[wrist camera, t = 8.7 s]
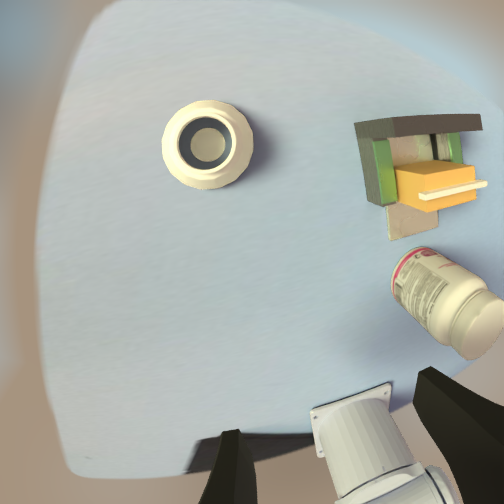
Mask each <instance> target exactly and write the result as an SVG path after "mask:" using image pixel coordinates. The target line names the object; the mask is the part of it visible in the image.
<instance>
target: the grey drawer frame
mask: <svg viewBox="0 0 504 504" xmlns="http://www.w3.org/2000/svg"><path fill="white" fill-rule="evenodd" d="M354 125H355V130H356V135H357V140H358V145H359V150H360V156H361V161H362V167H363V173H364V179H365V186H366V193H367V200H368V201H369V202H372V203H374V204H377V205H379V206H382V207H384V206H386V215H387V226H388V238H389V240H390V241H392V240H396V239H399V238H403V237H406V236H409V235H413V234H416V233H419V232H423V231H426V230H429V229H433V228H436V227H438V210H435V211H431V212H428V213H427V212H424V211H422V210H419V209H416V208H414V207H411V206H408V205H406V204H403V203H400V202H397V201H398V199H397V190H396V181H395V174H394V167H395V166H401V165H407V164H413V163H419V162H425V161H431V160H433V158H434V160H439V161H446V162H453V163H459V164H463V159H462V150H461V142H460V135H459V132H460V131H477V130H483V129H482V122H481V116H480V114H437V115H417V116H403V117H391V118H384V119H377V120H370V121H364V122H357V123H354ZM430 137H431V140H430ZM431 143H432V147H431ZM432 150H433V154H432Z"/></svg>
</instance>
